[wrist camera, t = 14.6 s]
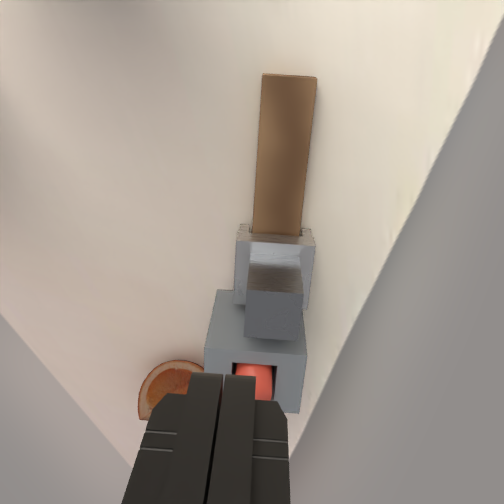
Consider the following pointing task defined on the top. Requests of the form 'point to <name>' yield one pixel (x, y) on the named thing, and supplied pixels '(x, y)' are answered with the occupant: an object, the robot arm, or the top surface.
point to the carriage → (273, 282)
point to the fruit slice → (164, 384)
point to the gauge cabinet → (254, 352)
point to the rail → (282, 152)
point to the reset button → (258, 378)
